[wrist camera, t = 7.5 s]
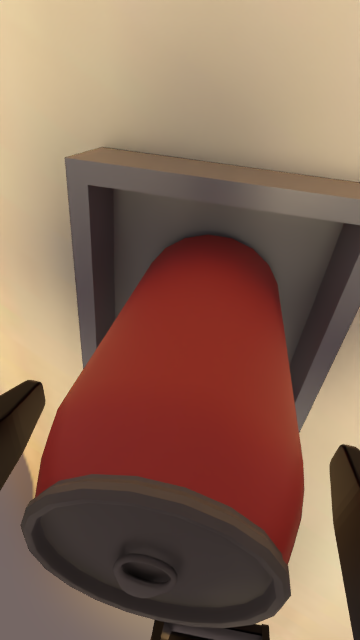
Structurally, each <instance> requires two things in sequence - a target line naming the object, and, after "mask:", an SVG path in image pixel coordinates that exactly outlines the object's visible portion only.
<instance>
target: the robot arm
mask: <svg viewBox="0 0 360 640" xmlns="http://www.w3.org/2000/svg"><path fill="white" fill-rule="evenodd" d="M44 406H45V395H44V390H43V385H42V383H41V382H38V381H34V380H27V381H25V382H23V383H21V384H19V385H18V386H16V387H14V388H12V389H11V390H9V391H7V392H5V393H4V394H2V395H0V490H1V489H2V487H3V485H4V483H5V482H6V480H7V479H8V477H9V475H10V474H11V472H12V470H13V469H14V467H15V465H16V464H17V462H18V460H19V458H20V457H21V455H22V453H23V451H24V449H25V447H26V445H27V443H28V441H29V439H30V437H31V434H32V432H33V430H34V428H35V426H36V424H37V421H38V419H39V417H40V415H41V413H42V411H43V409H44ZM330 483H331V498H332V512H333V524H334V530H335V536H336V542H337V547H338V553H339V559H340V564H341V570H342V576H343V581H344V587H345V593H346V598H347V604H348V610H349V615H350V621H351V627H352V632H353V638H354V640H360V450H359V449H358V448H356V447H354V446H349V445H344V444H342V445H340V446H339V448H338V450H337V451H336V453H335V454H334V456H333V458H332V459H331V462H330ZM151 640H270V638H269V625H265V624H262V625H257V624H253V625H246V626H238V627H230V628H211V627H192V626H186V625H180V624H174V623H168V622H162V621H158V620H155V621H154V626H153V632H152V636H151Z"/></svg>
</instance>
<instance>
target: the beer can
mask: <svg viewBox="0 0 360 640" xmlns="http://www.w3.org/2000/svg"><path fill="white" fill-rule="evenodd" d="M303 496H304V472H303V459H302V452H301V445H300V438H299V431H298V423H297V416H296V409H295V402H294V395H293V388H292V381H291V374H290V367H289V360H288V353H287V346H286V339H285V332H284V325H283V318H282V311H281V304H280V297H279V290H278V284H277V282H276V279H275V277H274V275H273V273H272V271H271V269H270V267H269V265H268V264H267V263H266V262H265V261H264V260H263V259H262V258H261V257H260V256H259V255H258V254H257V253H256V252H255V251H254V250H253V249H252V248H250V247H248V246H246V245H244V244H242V243H240V242H238V241H236V240H234V239H232V238H227V237H221V236H214V235H202V236H195V237H189V238H184V239H182V240H180V241H178V242H176V243H175V244H173V245H171V246H169V247H167V248H165V249H164V250H163V251H162V253H161V254H160V255H159V256H158V257H157V258H156V259H155V260H154V261H153V262H152V263H151V265H150V266H149V268H148V270H147V271H146V273H145V274H144V276H143V277H142V279H141V280H140V282H139V284H138V285H137V287H136V288H135V290H134V291H133V293H132V294H131V296H130V298H129V299H128V301H127V302H126V304H125V305H124V307H123V308H122V310H121V312H120V313H119V315H118V316H117V318H116V319H115V321H114V322H113V324H112V326H111V327H110V329H109V330H108V332H107V333H106V335H105V336H104V338H103V340H102V341H101V343H100V344H99V346H98V347H97V349H96V350H95V352H94V354H93V355H92V357H91V358H90V360H89V361H88V363H87V364H86V366H85V368H84V369H83V371H82V372H81V374H80V375H79V377H78V378H77V380H76V382H75V383H74V385H73V386H72V388H71V389H70V391H69V392H68V394H67V396H66V397H65V399H64V400H63V402H62V403H61V405H60V406H59V408H58V410H57V413H56V416H55V419H54V422H53V424H52V427H51V430H50V433H49V436H48V439H47V442H46V446H45V449H44V452H43V455H42V458H41V464H40V470H39V476H38V482H37V488H36V495H35V498H34V499H33V500H31V501H30V502H29V504H28V506H27V507H26V510H25V513H24V516H23V520H22V523H21V529H22V532H23V535H24V538H25V540H26V543H27V546H28V549H29V551H30V552H31V553H32V554H33V556H34V557H35V558H36V559H37V560H38V561H39V562H40V563H41V564H42V565H43V567H44V568H45V569H46V570H48V571H49V572H51V573H52V574H53V575H55V576H56V577H58V578H59V579H60V580H62V581H63V582H64V583H66V584H67V585H69V586H71V587H72V588H74V589H76V590H78V591H80V592H82V593H84V594H86V595H88V596H90V597H91V598H93V599H95V600H98V601H100V602H103V603H105V604H108V605H110V606H113V607H115V608H118V609H121V610H123V611H126V612H129V613H133V614H136V615H140V616H143V617H147V618H151V619H154V620H158V621H162V622H168V623H174V624H180V625H186V626H192V627H211V628H230V627H238V626H246V625H253V624H255V623H258V622H260V621H263V620H265V619H268V618H270V617H273V616H274V615H275V614H276V613H277V612H278V611H279V610H280V609H281V607H282V606H283V605H284V604H285V602H286V601H287V600H288V599H289V597H290V596H291V590H290V580H289V570H288V562H289V559H290V556H291V553H292V550H293V546H294V543H295V539H296V536H297V532H298V529H299V525H300V521H301V516H302V506H303Z"/></svg>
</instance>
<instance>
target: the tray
mask: <svg viewBox="0 0 360 640" xmlns="http://www.w3.org/2000/svg"><path fill="white" fill-rule="evenodd" d="M65 166H66V177H67V189H68V200H69V212H70V223H71V235H72V246H73V257H74V269H75V280H76V292H77V303H78V315H79V326H80V338H81V349H82V361H83V369H84V368H85V366H86V364H87V363H88V361H89V360H90V358H91V357H92V355H93V354H94V352H95V350H96V349H97V347H98V346H99V344H100V343H101V341H102V340H103V338H104V336H105V335H106V333H107V332H108V330H109V329H110V327H111V326H112V324H113V322H114V321H115V319H116V318H117V316H118V315H119V313H120V312H121V310H122V308H123V307H124V305H125V304H126V302H127V301H128V299H129V298H130V296H131V294H132V293H133V291H134V290H135V288H136V287H137V285H138V284H139V282H140V280H141V279H142V277H143V276H144V274H145V273H146V271H147V270H148V268H149V266H150V265H151V263H152V262H153V261H154V260H155V259H156V258H157V257H158V256H159V255H160V254H161V253H162V251H163V250H164V249H165V248H167V247H169V246H171V245H173V244H175V243H176V242H178V241H180V240H182V239H184V238H189V237H195V236H202V235H214V236H221V237H227V238H232V239H234V240H236V241H238V242H240V243H242V244H244V245H246V246H248V247H250V248H252V249H253V250H254V251H255V252H256V253H257V254H258V255H259V256H260V257H261V258H262V259H263V260H264V261H265V262H266V263H267V264H268V265H269V267H270V269H271V271H272V273H273V275H274V277H275V279H276V282H277V284H278V290H279V297H280V304H281V311H282V318H283V325H284V332H285V339H286V346H287V353H288V360H289V367H290V374H291V381H292V388H293V395H294V402H295V409H296V416H297V423H298V431H299V432H300V430H301V428H302V426H303V424H304V422H305V420H306V418H307V416H308V413H309V411H310V409H311V407H312V405H313V403H314V401H315V399H316V397H317V395H318V392H319V390H320V388H321V386H322V384H323V382H324V380H325V378H326V376H327V374H328V372H329V369H330V367H331V365H332V363H333V361H334V359H335V357H336V355H337V353H338V351H339V349H340V346H341V344H342V342H343V340H344V338H345V336H346V334H347V332H348V330H349V328H350V325H351V323H352V321H353V319H354V317H355V315H356V313H357V311H358V309H359V307H360V183H358V182H351V181H344V180H336V179H329V178H322V177H314V176H307V175H300V174H293V173H285V172H278V171H271V170H264V169H256V168H249V167H242V166H235V165H227V164H220V163H213V162H205V161H198V160H191V159H184V158H176V157H169V156H162V155H155V154H147V153H140V152H133V151H125V150H118V149H111V148H104V147H100V148H97V149H93V150H90V151H86V152H83V153H79V154H76V155H72V156H69V157H65Z"/></svg>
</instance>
